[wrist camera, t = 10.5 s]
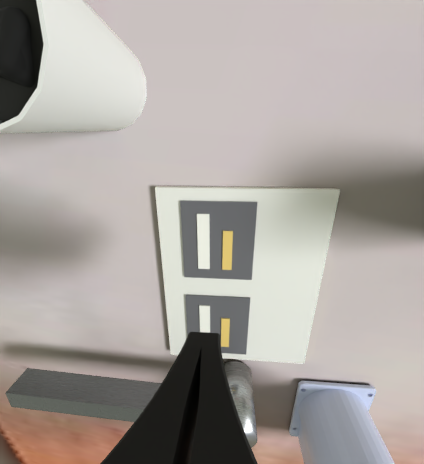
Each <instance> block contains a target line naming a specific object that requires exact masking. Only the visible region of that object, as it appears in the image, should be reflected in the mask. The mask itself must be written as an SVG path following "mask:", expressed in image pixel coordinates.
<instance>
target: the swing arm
mask: <svg viewBox="0 0 424 464" xmlns="http://www.w3.org/2000/svg"><path fill="white" fill-rule="evenodd" d="M224 368H225V372H226V376H227V380H228V384H229V387H230V391H231V394H232V397H233V400H234V403H235V406H236V409H237V412H238V415H239V418H240V421H241V424H242V426H243V429H244V432H245V434H246V437H247V439H248V442H249V444H250V447H251V448H252V447H253V446H254V445H255V444H256V443H257V431H256V419H255V408H254V396H253V385H252V373H251V370H250V368H249V367H248V366H247V365H246V364H244V363H241V362H237V361H232V362H227V363H225V364H224ZM161 384H162V383H153V382H144V381H136V380H127V379H118V378H109V377H100V376H91V375H83V374H74V373H65V372H56V371H47V370H39V369H30V368H27V369H26V371H25V372H24V373H23V374H22V375H21V376H20V377H19V378H18V380H17V381H16V382H15V383H14V384H13V385H12V386H11V387H10V388H9V390H8V391H7V392H6V395H7V398H8V400H9V402H10V405H11V407H17V408H25V409H34V410H42V411H50V412H58V413H66V414H74V415H82V416H90V417H99V418H107V419H115V420H123V421H131V422H135V421H136V420H137V418H138V417H139V416H140V414H141V413H142V412H143V410H144V409H145V408H146V406H147V405H148V403H149V402H150V400H151V399H152V398H153V396H154V394H155V393H156V391H157V390H158V388H159V387H160V385H161Z"/></svg>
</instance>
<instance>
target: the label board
mask: <svg viewBox="0 0 424 464" xmlns="http://www.w3.org/2000/svg"><path fill="white" fill-rule="evenodd" d="M339 194H340V190H339V189H337V188H268V187H193V186H156V187H155V195H156V205H157V216H158V226H159V237H160V248H161V258H162V269H163V279H164V290H165V301H166V311H167V322H168V332H169V343H170V353H171V355H179V353H180V351H181V349H182V347H183V345H184V343H185V341H186V339H187V336H188V334H189V333H190V332H207V333H218V334H219V335H220V345H221V353H222V358H226V359H240V360H255V361H270V362H285V363H300V364H304V362H305V357H306V352H307V348H308V343H309V338H310V333H311V328H312V324H313V319H314V314H315V309H316V304H317V300H318V295H319V290H320V285H321V280H322V276H323V271H324V266H325V261H326V256H327V251H328V247H329V242H330V237H331V232H332V227H333V223H334V218H335V213H336V208H337V203H338V199H339Z"/></svg>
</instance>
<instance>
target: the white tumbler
mask: <svg viewBox="0 0 424 464" xmlns="http://www.w3.org/2000/svg"><path fill="white" fill-rule="evenodd" d="M146 98H147V92H146V78H145V75H144V72H143V70H142V67H141V64H140V62H139V60H138V59H137V57H136V56H135V55H134V54H133V53H132V51H131V50H130V49H129V48H128V46H127V45H126V44H125V43H124V42H123V41H122V40H121V39H120V38H119V37H118V36H117V35H116V34H115V33H114V32H113V31H112V29H111V28H110V27H109V26H108V25H107V24H106V23H105V22H104V21H103V20H102V19H101V18H100V17H99V16H98V15H97V14H96V12H95V11H94V10H93V9H92V8H91V7H90V6H89V5H88V4H87V3H86V2H85V1H84V0H0V133H37V132H78V131H119V130H121V129H123V128H126V127H128V126H131V125H132V124H133V123H134V122H135V121H136V120H137V118H138V117H139V116H140V115H141V114H142V111H143V108H144V105H145V102H146Z"/></svg>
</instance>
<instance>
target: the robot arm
mask: <svg viewBox="0 0 424 464" xmlns="http://www.w3.org/2000/svg"><path fill="white" fill-rule="evenodd" d="M375 394H376V389H375V388H374V387H373V386H370V385H356V384H343V383H329V382H315V381H300V382H299V384H298V388H297V393H296V398H295V403H294V408H293V413H292V418H291V423H290V427H289V433H290V435H291V436H298V438H299V443H300V447H301V452H302V456H303V461H304V464H395V463H394V461H393V459H392V457H391V455H390V453H389V451H388V449H387V447H386V445H385V443H384V441H383V439H382V437H381V435H380V433H379V432H378V430H377V428H376V426H375V424H374V422H373V420H372V418H371V416H370V414H369V412H368V411H369V409H370V406H371V404H372V401H373V399H374V396H375ZM101 464H257V461H256V459H255V457H254V454H253V452H252V449H251V447H250V444H249V442H248V439H247V437H246V434H245V432H244V429H243V426H242V424H241V421H240V418H239V415H238V412H237V409H236V406H235V403H234V400H233V397H232V394H231V391H230V387H229V384H228V380H227V376H226V372H225V368H224V363H223V358H222V353H221V345H220V335H219V334H218V333H207V332H190V333H189V334H188V336H187V339H186V341H185V343H184V345H183V347H182V349H181V351H180V353H179V355H178V357H177V359H176V360H175V362H174V364H173V366H172V367H171V369H170V371H169V372H168V374H167V376H166V377H165V379H164V381H163V382H162V384H161V385H160V387H159V388H158V390H157V391H156V393H155V394H154V396H153V398H152V399H151V400H150V402H149V403H148V405H147V406H146V408H145V409H144V410H143V412H142V413H141V414H140V416H139V417H138V418H137V420H136V421H135V422H134V424H133V425H132V426H131V428H130V429H129V430H128V431H127V433H126V434H125V435H124V436H123V438H122V439H121V440H120V441H119V443H118V444H117V445H116V446H115V447H114V449H113V450H112V451H111V452H110V453H109V455H108V456H107V457H106V458H105V459H104V460H103V461H102V462H101Z"/></svg>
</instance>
